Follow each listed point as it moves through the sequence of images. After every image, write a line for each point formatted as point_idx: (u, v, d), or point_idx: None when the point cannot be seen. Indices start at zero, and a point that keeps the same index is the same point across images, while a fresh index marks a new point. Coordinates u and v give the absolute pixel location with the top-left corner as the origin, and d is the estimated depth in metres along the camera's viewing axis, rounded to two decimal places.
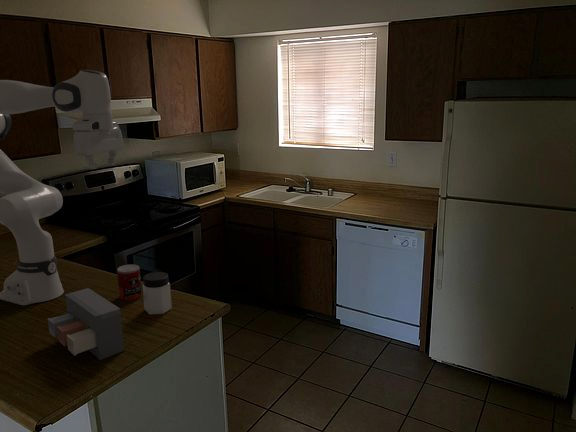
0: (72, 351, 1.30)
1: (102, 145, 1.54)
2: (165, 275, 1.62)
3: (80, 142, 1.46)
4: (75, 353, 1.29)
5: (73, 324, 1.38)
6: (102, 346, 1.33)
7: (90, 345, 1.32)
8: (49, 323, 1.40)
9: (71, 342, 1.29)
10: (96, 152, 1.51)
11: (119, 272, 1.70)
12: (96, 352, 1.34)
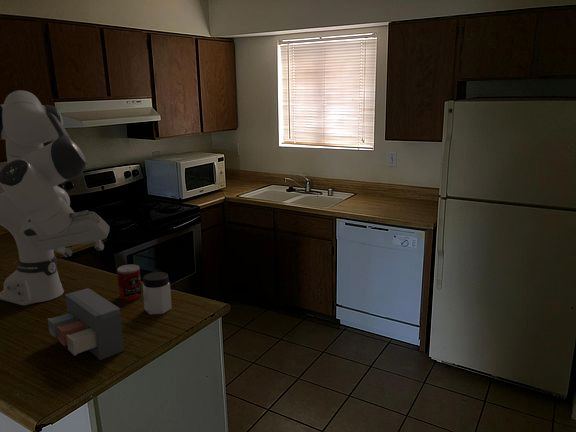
0: (72, 351, 1.30)
1: (62, 241, 1.23)
2: (165, 275, 1.62)
3: None
4: (75, 353, 1.29)
5: (73, 324, 1.38)
6: (102, 346, 1.33)
7: (90, 345, 1.32)
8: (49, 323, 1.40)
9: (71, 342, 1.29)
10: (55, 248, 1.25)
11: (119, 272, 1.70)
12: (96, 352, 1.34)
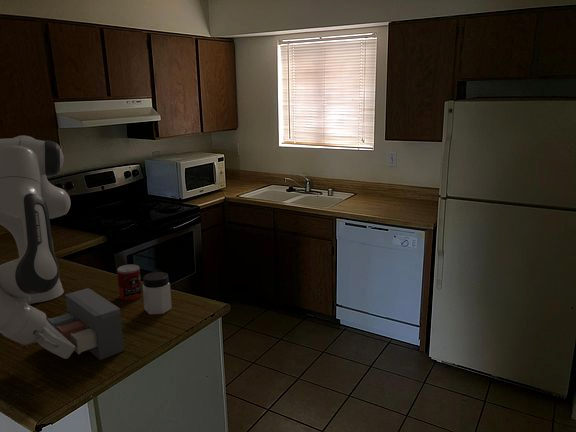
0: (76, 350, 1.31)
1: None
2: (165, 275, 1.62)
3: None
4: (79, 352, 1.30)
5: (73, 324, 1.38)
6: (102, 346, 1.33)
7: (94, 343, 1.33)
8: None
9: (75, 341, 1.30)
10: None
11: (119, 272, 1.70)
12: (96, 352, 1.34)
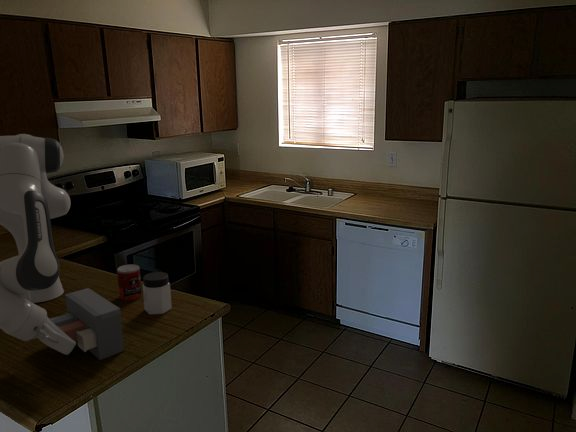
0: (82, 347, 1.32)
1: None
2: (165, 275, 1.62)
3: None
4: (85, 349, 1.31)
5: (73, 324, 1.38)
6: (102, 346, 1.33)
7: None
8: None
9: (81, 339, 1.31)
10: None
11: (119, 272, 1.70)
12: (96, 352, 1.34)
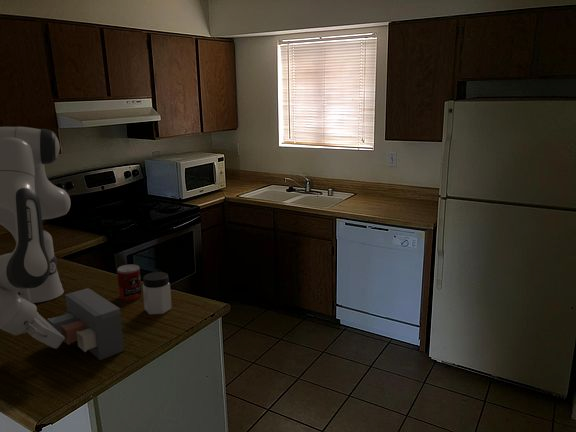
0: (82, 347, 1.32)
1: None
2: (165, 275, 1.62)
3: None
4: (85, 349, 1.31)
5: (77, 323, 1.38)
6: (102, 346, 1.33)
7: None
8: (49, 323, 1.40)
9: (81, 339, 1.31)
10: None
11: (119, 272, 1.70)
12: (96, 352, 1.34)
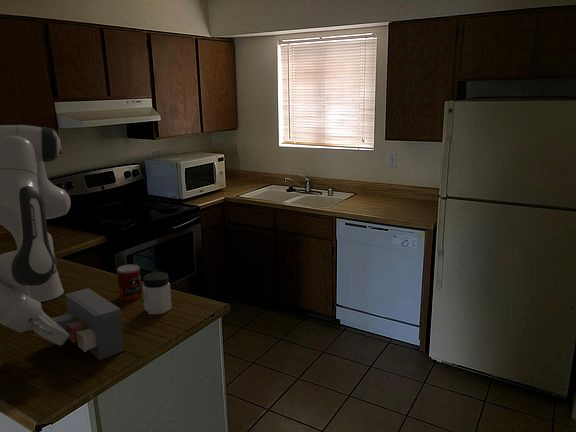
0: (82, 347, 1.32)
1: None
2: (165, 275, 1.62)
3: None
4: (85, 349, 1.31)
5: None
6: (102, 346, 1.33)
7: None
8: None
9: (81, 339, 1.31)
10: None
11: (119, 272, 1.70)
12: (96, 352, 1.34)
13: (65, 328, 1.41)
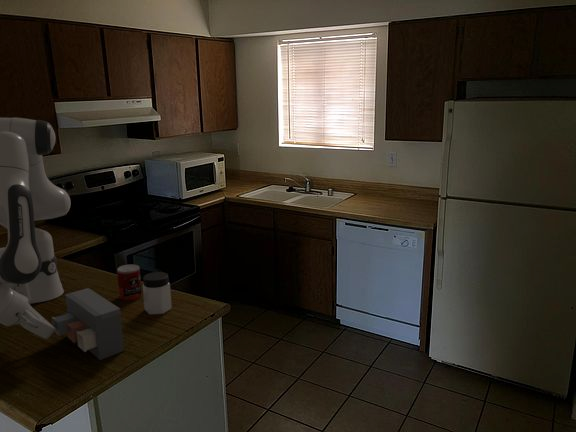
0: (82, 347, 1.32)
1: None
2: (165, 275, 1.62)
3: None
4: (85, 349, 1.31)
5: None
6: (102, 346, 1.33)
7: None
8: (53, 322, 1.41)
9: (81, 339, 1.31)
10: None
11: (119, 272, 1.70)
12: (96, 352, 1.34)
13: None
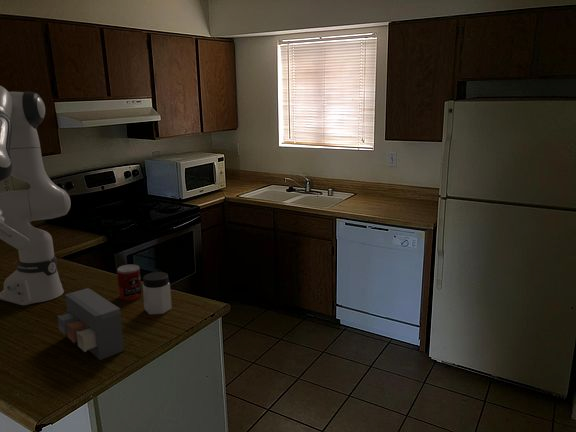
0: (82, 347, 1.32)
1: None
2: (165, 275, 1.62)
3: None
4: (85, 349, 1.31)
5: None
6: (102, 346, 1.33)
7: None
8: (59, 320, 1.42)
9: (81, 339, 1.31)
10: None
11: (119, 272, 1.70)
12: (96, 352, 1.34)
13: None
